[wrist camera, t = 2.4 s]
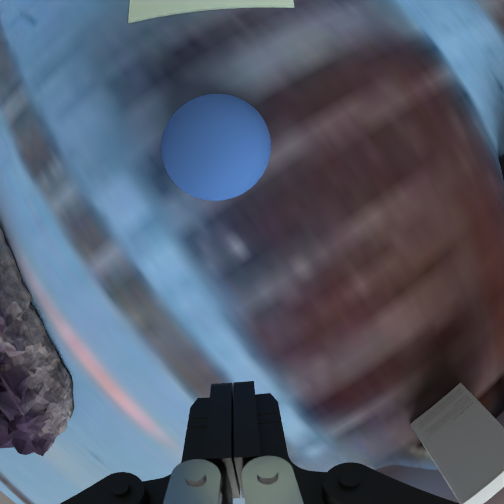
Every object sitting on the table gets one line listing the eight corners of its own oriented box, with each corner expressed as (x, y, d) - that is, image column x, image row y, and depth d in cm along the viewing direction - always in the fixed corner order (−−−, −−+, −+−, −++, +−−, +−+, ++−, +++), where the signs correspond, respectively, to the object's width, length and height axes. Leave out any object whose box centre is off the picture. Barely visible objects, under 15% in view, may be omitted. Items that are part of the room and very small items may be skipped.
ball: (176, 201, 20) (154, 210, 14) (170, 113, 18) (146, 88, 13) (268, 193, 20) (282, 199, 14) (261, 104, 19) (272, 75, 13)
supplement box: (407, 423, 26) (460, 505, 14) (460, 380, 26) (526, 448, 13) (424, 447, 28) (468, 516, 15) (470, 409, 27) (523, 470, 15)
